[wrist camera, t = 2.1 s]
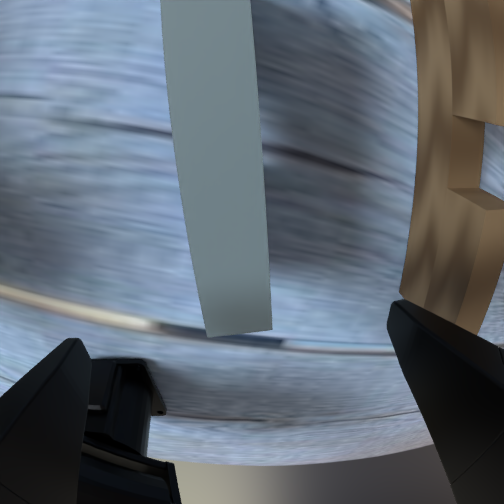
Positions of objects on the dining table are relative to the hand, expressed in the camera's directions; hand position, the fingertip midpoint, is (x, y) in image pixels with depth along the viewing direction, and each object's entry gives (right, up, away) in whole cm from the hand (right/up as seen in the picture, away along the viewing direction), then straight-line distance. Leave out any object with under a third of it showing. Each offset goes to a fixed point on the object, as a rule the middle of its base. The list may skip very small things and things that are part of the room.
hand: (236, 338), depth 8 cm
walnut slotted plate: (+11, +9, +7) cm, 15 cm away
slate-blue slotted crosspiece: (-1, +8, +6) cm, 10 cm away
